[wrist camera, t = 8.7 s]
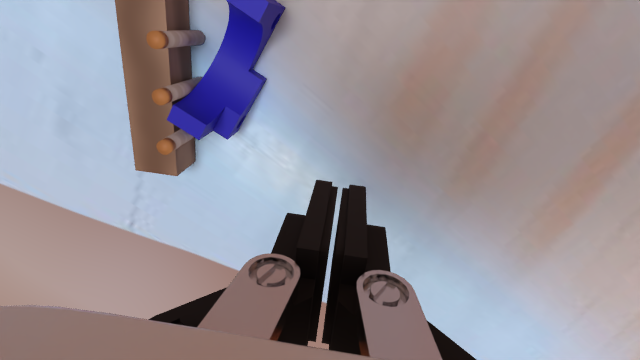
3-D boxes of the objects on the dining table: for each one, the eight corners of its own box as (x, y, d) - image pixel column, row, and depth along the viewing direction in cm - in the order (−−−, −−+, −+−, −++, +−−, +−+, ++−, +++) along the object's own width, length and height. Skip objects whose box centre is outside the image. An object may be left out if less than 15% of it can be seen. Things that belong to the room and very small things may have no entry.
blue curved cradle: (238, 130, 34) (215, 149, 29) (197, 105, 34) (166, 119, 28) (300, 18, 30) (287, 15, 24) (255, -14, 29) (231, -24, 24)
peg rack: (203, -13, 29) (158, -25, 23) (208, 162, 36) (174, 193, 29) (142, -20, 29) (79, -34, 23) (158, 155, 36) (112, 184, 29)
